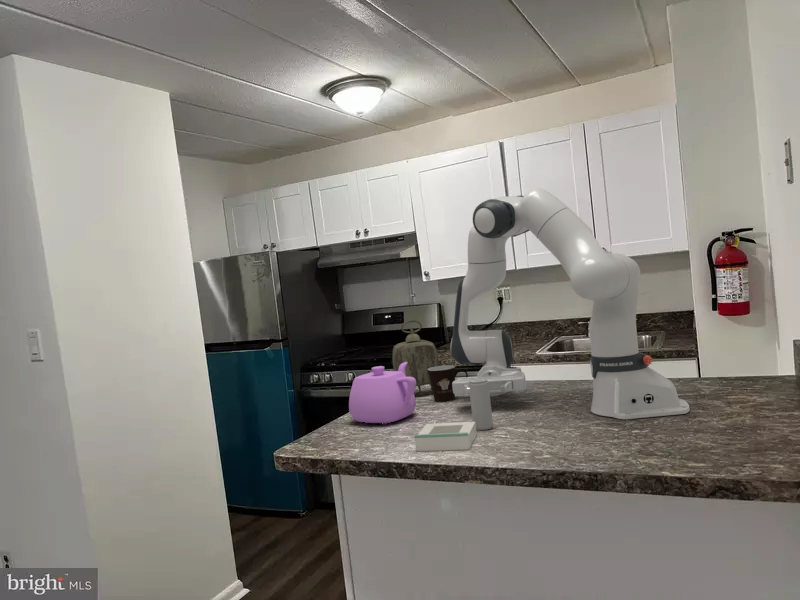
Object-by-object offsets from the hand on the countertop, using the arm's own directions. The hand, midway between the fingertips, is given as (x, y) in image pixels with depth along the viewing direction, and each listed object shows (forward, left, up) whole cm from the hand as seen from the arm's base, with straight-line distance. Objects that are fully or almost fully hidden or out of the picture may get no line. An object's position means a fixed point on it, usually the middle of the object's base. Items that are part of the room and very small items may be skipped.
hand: (486, 390), depth 154 cm
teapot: (+30, -4, -7) cm, 31 cm away
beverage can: (0, +12, -7) cm, 14 cm away
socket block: (+7, +22, -7) cm, 25 cm away
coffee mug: (+15, -24, -7) cm, 29 cm away
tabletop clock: (+27, -34, -7) cm, 44 cm away
